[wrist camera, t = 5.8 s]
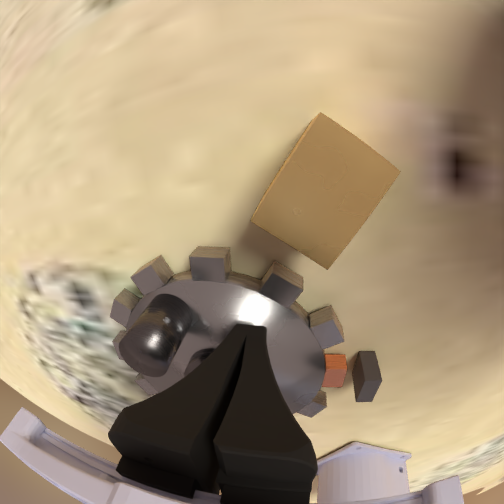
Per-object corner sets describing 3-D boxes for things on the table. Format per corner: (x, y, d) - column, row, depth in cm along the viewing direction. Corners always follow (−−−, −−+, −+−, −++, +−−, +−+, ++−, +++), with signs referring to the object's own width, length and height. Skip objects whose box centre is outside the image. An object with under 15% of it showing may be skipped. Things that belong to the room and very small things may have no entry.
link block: (312, 119, 11) (320, 112, 7) (369, 159, 11) (400, 171, 7) (264, 194, 12) (250, 220, 9) (319, 229, 13) (327, 269, 9)
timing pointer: (352, 373, 16) (355, 402, 14) (359, 350, 15) (365, 380, 13) (366, 373, 16) (371, 401, 14) (374, 351, 15) (382, 380, 13)
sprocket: (268, 192, 12) (252, 227, 8) (372, 389, 16) (381, 447, 12) (85, 302, 17) (44, 343, 12) (204, 428, 21) (189, 471, 16)
